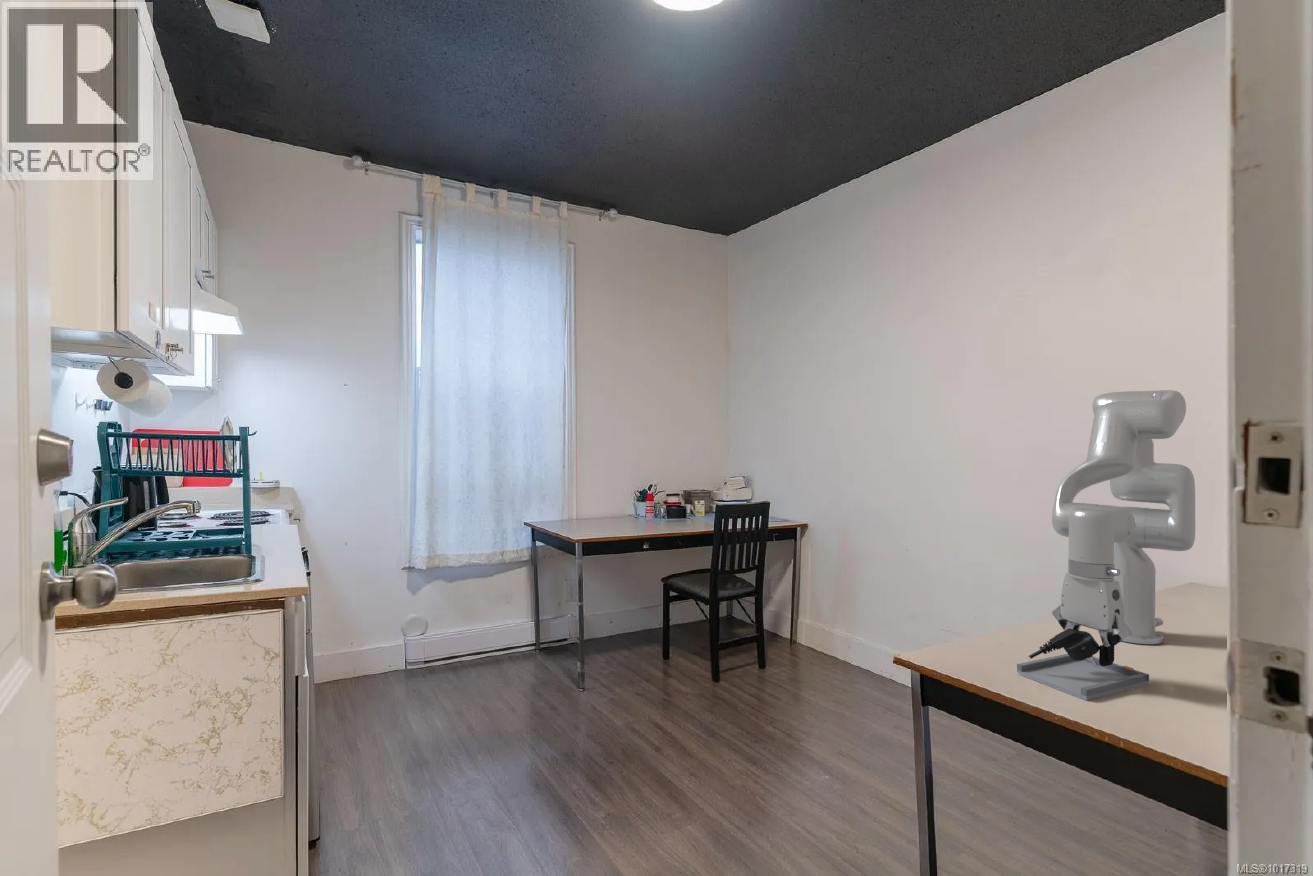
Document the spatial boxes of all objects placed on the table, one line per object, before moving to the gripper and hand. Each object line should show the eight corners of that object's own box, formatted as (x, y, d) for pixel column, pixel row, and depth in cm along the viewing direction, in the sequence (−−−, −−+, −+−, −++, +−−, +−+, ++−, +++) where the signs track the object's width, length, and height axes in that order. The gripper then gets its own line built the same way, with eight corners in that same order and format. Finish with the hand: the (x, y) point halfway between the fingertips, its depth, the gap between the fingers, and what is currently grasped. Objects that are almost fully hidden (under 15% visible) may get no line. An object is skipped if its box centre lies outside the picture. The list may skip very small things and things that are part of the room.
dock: (1077, 660, 137) (1077, 650, 137) (1148, 684, 124) (1148, 673, 124) (1016, 673, 129) (1017, 662, 129) (1086, 700, 116) (1086, 688, 116)
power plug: (1023, 649, 130) (1077, 619, 127) (1046, 680, 129) (1102, 651, 126) (1031, 659, 125) (1088, 628, 122) (1055, 692, 124) (1113, 662, 121)
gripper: (1149, 577, 119) (1148, 672, 119) (1061, 560, 135) (1060, 644, 135) (1125, 581, 116) (1124, 678, 116) (1037, 563, 132) (1036, 648, 132)
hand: (1089, 658), depth 126 cm, fingers closed on power plug, 5 cm apart
